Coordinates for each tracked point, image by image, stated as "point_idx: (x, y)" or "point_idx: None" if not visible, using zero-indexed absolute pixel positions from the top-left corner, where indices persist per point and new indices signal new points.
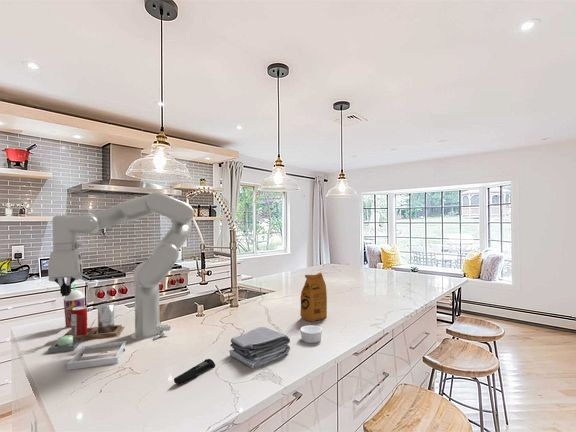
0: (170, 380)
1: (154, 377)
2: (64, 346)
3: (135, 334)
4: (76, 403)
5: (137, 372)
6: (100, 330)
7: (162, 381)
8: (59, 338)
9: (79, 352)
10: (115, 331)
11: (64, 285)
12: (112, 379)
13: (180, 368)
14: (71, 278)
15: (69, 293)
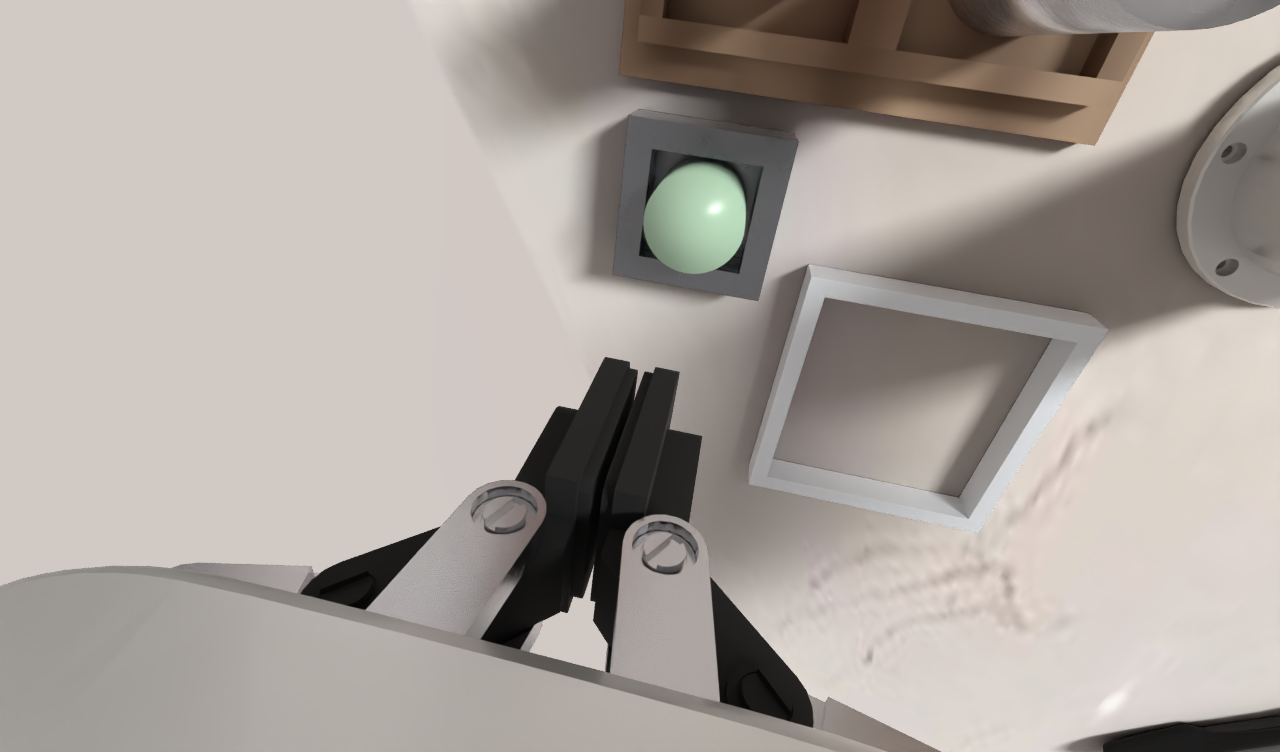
0: (1102, 713)
1: (1061, 675)
2: (703, 286)
3: (1244, 206)
4: (798, 675)
5: (1018, 619)
6: (977, 15)
7: (1073, 706)
8: (655, 223)
9: (795, 379)
10: (1109, 70)
11: (571, 562)
12: (915, 617)
13: (1193, 673)
14: (678, 687)
15: (676, 389)
